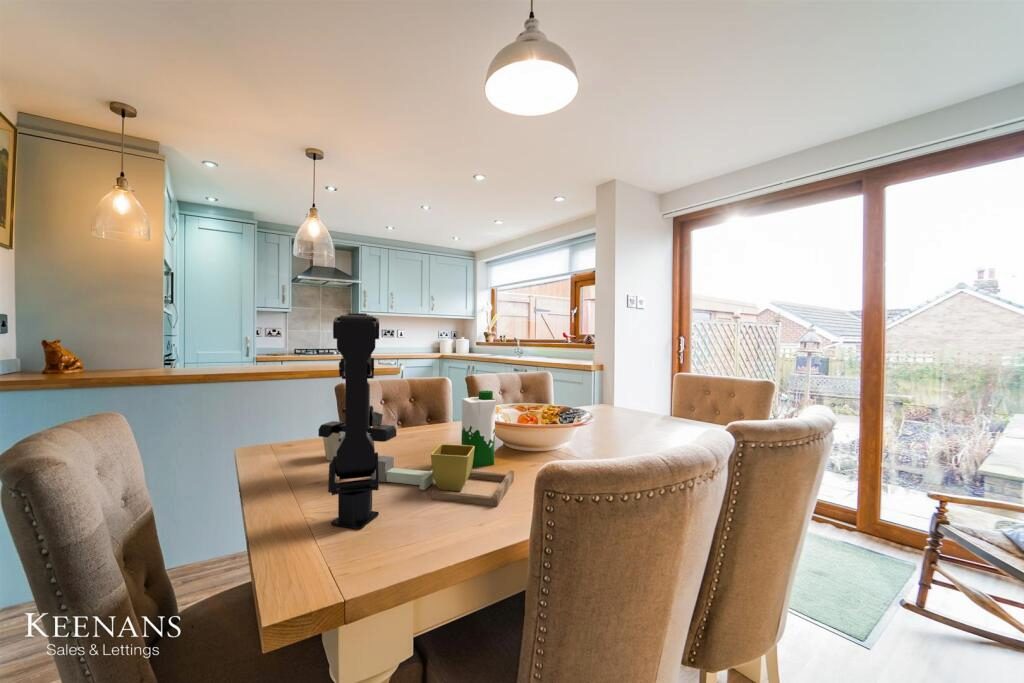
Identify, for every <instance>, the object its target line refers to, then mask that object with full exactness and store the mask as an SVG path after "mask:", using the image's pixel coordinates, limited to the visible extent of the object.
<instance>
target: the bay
mask: <svg viewBox="0 0 1024 683" xmlns="http://www.w3.org/2000/svg"><path fill="white" fill-rule="evenodd" d="M514 477H515V472H514V470H509V471H508V473H497V472H487V471H477V470H471V472H470V475H469V477H468V479H473V480H485V481H492V482H493V481H494V482H501V483H499V485H498V486H497V488H496V490H495V491H494V492H493V494H492V495H491V496H490V495H481V494H475V493H466V492H465V493H463V492H458V491H454V492H453V491H448V490H437V489H433V490H432V492H431V499H432V500H440V501H447V502H449V501H450V502H454V503H455V502H457V503H463V504H464V503H465V504H473V505H483V506H493V507H498V506H499V505H500V503H501V501H502V500H503V498H504V497H505V496H506V494H507V492H508V490H509V489H510V487H511V486H512V484H513V483H514Z"/></svg>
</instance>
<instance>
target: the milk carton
mask: <svg viewBox="0 0 1024 683" xmlns="http://www.w3.org/2000/svg"><path fill="white" fill-rule="evenodd" d="M497 403H498V402H497V400H496V399H494V392H493V391H492V390H478V396H471V397H461V445H468V446H475V449H474V457H473V464H472V468H477V467H482V466H485V467H486V466H491V465H495V447H496V446H495V444H496V443H495V439H496V438H495V437H496V435H495V434H496V433H495V432H496V431H495V430H496V424H495V423H496V408H497Z"/></svg>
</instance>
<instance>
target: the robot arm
mask: <svg viewBox="0 0 1024 683" xmlns="http://www.w3.org/2000/svg"><path fill="white" fill-rule="evenodd" d="M332 322H333V324H332V335H333V337H332V339H333V340H336V348H337V350H338V352H339V353H340V355H341V359H340V361H339V362H338V372H339V373H338V374H339V377H341V380H345V383H344V384H345V388H344V389H345V395H344V396H345V405H344V406H345V407H344V408H342V409H341V413H342V414H345V416H344V419H345V420H344V421H337V420H335V421H333V420H331V421H329V422H326V423H325V422H324V424H323V423H322V424H321V425H320V426H319V427H318V437H320V438H323V437H330V435H331V434H332V433H340V439H338V441H339V442H340V443H339V444H338V448H337V456H333V460H332V461H330V463H329V465H328V466H329V467H328V480H327V481H328V482H327V483H328V491H327V492H328V493H330V494H331V496H335V495H337V496H338V497H337V498H338V499H337V500H338V502H337V503H338V504H337V505H338V506H337V507H338V508H337V510H338V511H337V512H338V513H337V515H338V516H337V517H336V518H335V519H333V520H332V521H330V522H331V523H330V525H331V526H335V527H343V528H348V529H349V528H350V529H356V530H360V529H363V528H364V527H365V526H366V525H368V524H369V523H370V522H372V521H373V520H374V519H375V518H377V517H379V514H380V513H379V511H376V510H375V511H374V510H373V491H379V474H378V456H379V452H378V451H377V452H376V451H375V442H380V443H381V442H383V443H384V442H388V441H389V440H392V439H394V438H397V428H396V426H395V425H389V424H382V422H383V416H384V415H383V414H382V413H381V412H380V413H379V412H376V411H374V406H373V405H371V384H370V382H369V380H368V379H374V377H375V376H374V375H375V373H374V372H375V357H372V354H373V352H374V351H375V349H376V340H380V321H379V318H378V317H375V316H373V315H370V314H368V313H365V312H363V313H361V312H359V313H358V312H348V313H345V314H341V315H340V316H336V317H334V319H333V321H332ZM374 471H375V479H370V477H372V474H373V473H374ZM337 478H339V481H338V482H337ZM362 478H364V479H362ZM365 478H366V479H365ZM367 478H369V479H367ZM352 479H353V480H352ZM354 479H359V480H354ZM341 480H347V481H341Z"/></svg>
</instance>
